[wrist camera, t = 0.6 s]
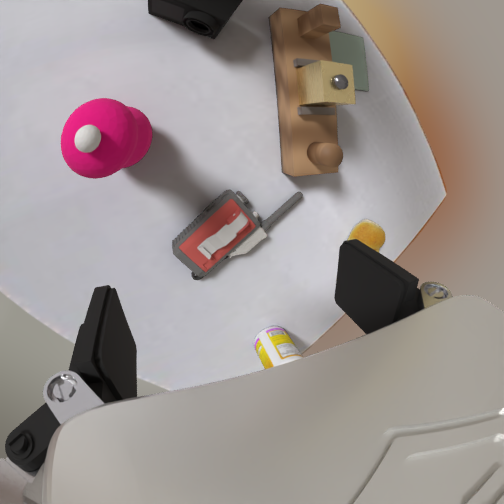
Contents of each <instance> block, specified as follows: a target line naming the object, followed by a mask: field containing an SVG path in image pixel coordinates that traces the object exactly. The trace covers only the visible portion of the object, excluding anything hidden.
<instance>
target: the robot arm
mask: <svg viewBox="0 0 504 504" xmlns="http://www.w3.org/2000/svg"><path fill="white" fill-rule="evenodd" d="M418 281H419V279H418V278H417V277H415V276H413V275H412V274H411V273H409V272H408V271H406V270H405V269H403V268H401V267H400V266H399V265H397V264H395V263H394V262H392V261H391V260H389V259H388V258H386V257H385V256H383V255H382V254H380V253H378V252H377V251H375V250H374V249H372V248H370V247H369V246H367V245H366V244H364V243H362V242H361V241H359V240H357V239H352V240H347V241H344V242H343V244H342V245H341V246H340V251H339V262H338V272H337V281H336V290H335V301H336V303H337V305H338V306H339V307H340V308H341V309H342V310H343V311H344V312H345V313H346V314H347V315H348V316H349V317H350V318H352V320H353V321H354V322H355V323H356V324H357V325H358V326H359V327H360V328H361V329H362V330H363V331H364V332H365V333H366V335H364V336H361V337H359V338H356V339H354V340H351V341H348V342H346V343H343V344H341V345H338V346H335V347H333V348H330V349H327V350H324V351H321V352H318V353H315V354H313V355H310V356H307V357H304V358H301V359H297V360H294V361H291V362H288V363H285V364H281V365H278V366H275V367H271V368H268V369H264V370H261V371H257V372H254V373H250V374H246V375H242V376H238V377H234V378H230V379H226V380H222V381H218V382H213V383H209V384H204V385H200V386H195V387H190V388H185V389H179V390H174V391H168V392H163V393H157V394H152V395H146V396H141V397H137V374H136V355H137V350H136V344H135V341H134V339H133V336H132V333H131V331H130V328H129V326H128V323H127V320H126V318H125V315H124V312H123V309H122V306H121V303H120V300H119V297H118V294H117V291H116V289H115V288H112V289H111V287H110V286H109V285H107V286H102V287H96V288H95V289H94V292H93V295H92V298H91V302H90V305H89V308H88V311H87V315H86V318H85V321H84V324H81V326H80V329H79V332H78V336H77V339H76V343H75V347H74V351H73V355H72V359H71V363H70V367H69V371H61V372H58V373H56V374H54V375H53V376H51V377H50V378H49V379H48V380H47V382H46V384H45V386H44V389H43V396H44V399H45V401H46V403H45V404H44V405H43V406H41V407H40V408H39V409H38V410H37V411H35V412H34V413H33V414H32V415H31V416H29V417H28V418H27V419H26V420H25V421H24V422H22V423H21V424H20V425H19V426H18V427H16V429H14V430H13V431H12V432H11V433H10V434H9V436H8V438H7V440H6V444H5V450H6V454H7V458H6V460H4V459H3V458H1V460H0V504H504V312H503V311H501V310H500V309H499V308H497V307H496V306H494V305H493V304H492V303H490V302H488V301H487V300H485V299H483V298H481V297H479V296H471V295H466V296H457V297H452V294H451V292H450V290H449V289H448V288H447V287H446V286H444V285H442V284H439V283H436V282H425V283H423V284H422V285H421V287H420V290H419V289H418V288H417V285H418Z"/></svg>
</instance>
